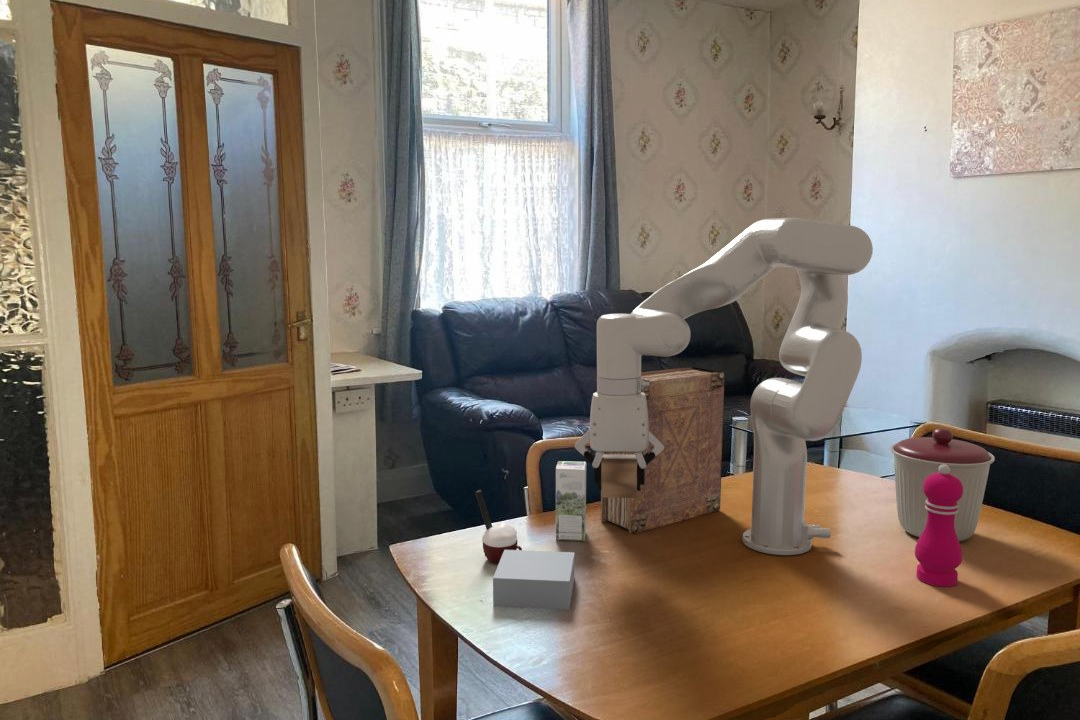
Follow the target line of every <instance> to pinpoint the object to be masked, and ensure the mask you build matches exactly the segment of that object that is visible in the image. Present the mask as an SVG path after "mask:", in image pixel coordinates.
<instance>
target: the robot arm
mask: <svg viewBox="0 0 1080 720" xmlns="http://www.w3.org/2000/svg"><path fill="white" fill-rule="evenodd" d="M873 250H874V248H873V243H872V240H871V238H870V236H869V235H868V233H867V232H866V231H865V230H863V229H862V228H860V227H859V226H858V227H857V226H855V225H849V224H848V225H847V224H843V223H841V224H840V223H836V222H835V223H834V222H827V221H820V220H813V219H807V218H802V217H801V218H800V217H775V218H774V217H773V218H763V219H760V220H758V221H755V222H754V223H752V224H751V225H749V227H747V228H746V229H744V230H743V231H742V232H741V233H740V234H738V235H737V236H736V237H735V238H734V239H732V240H731V241H730V242H729V243H728V244H727V245H725V246H724V247H722V248H721V249H720V250H718V252H717V253H715V254H714V255H713V256H712V257H711V258H710V259H708V260H707V261H706V262H704V263H703V264H701V265H700V266H698V267H696V268H694V269H692V270H690V271H688V272H687V273H685V274H684V275H682V276H681V277H677V278H676V279H675V280H673V281H670V282H668V283H667V284H665V285H664V286H662V287H660V288H659V289H658V290H656V291H655V292H654V293H652V294H651V295H650V296H649V297H647V298H646V299H645V300H643V301H642V302H641V303H640V304H639V305H638V306H636V307H635V309H632V312H630V313H607V314H602V315H601V316H600V317H598V319H597V321H596V392H593V393H592V396H591V405H590V414H589V415H590V416H589V429H588V430H587V431H585V433H584V434H583V435H582V436H581V437H580V438H579V439H578V440H577V441H575V443H574V449H576V450H577V452H579V453H580V454H581V455H582V456H583V457H584V458H585V460H586V461H588V463H590V465H591V466H592V468H593V474H594V475H593V478H594V479H593V480H594V481H593V483H594V485H597V487H598V488H597V490H598V491H601V490H602V488H601V462H602V457H603V455H604V452H608V453H634V454H635V457H636V459H637V461H638V462H637V490H638V491H641V485H645V467H646V466H647V465H648V464H649V463H650V462H651V461H652V460H653V459H654V458H655V456H657V455H658V454H659V453H660V452H661V451H662V450H663V449H664V444H663V443H662V442H661V441H660V440H659V439H658V438H657V437H656V436H655V435H654V434H653V433H652V432H651V431H650V430H649V421H648V408H647V400H646V395H645V393H643V392H641V390H643V388H650V380H645V379H643V378H641V373H642V356H652V357H653V356H654V357H665V358H667V357H672V356H676V355H678V354H680V353H682V352H683V351H684V350H685V349H686V348H687V347H688V345H689V343H690V341H691V329H690V325H689V324H688V323H687V321H686V320H685V319H687V318H689V317H691V316H693V315H696V314H699V313H701V312H704V311H707V310H708V311H709V310H713V309H718V308H721V307H724V306H726V305H729V304H732V303H734V302H736V301H737V300H739V299H740V298H741V297H742V296H743V295H744V294H745V293H746V292H747V291H748V290H749V289H751V288H753V287H754V286H755V285H756V284H757V283H758V282H759V281H760V280H762V279H763V278H764V277H766V276H767V275H768V274H769V273H771V271H773V270H775V269H776V268H794V269H795V270H796V272H797V276H798V279H799V282H800V294H799V295H800V296H799V300H798V302H797V306H796V308H795V310H794V314H793V315H792V318H791V320H790V322H789V324H788V327H787V331H786V332H785V335H784V337H783V339H782V342H781V345H780V347H779V352H778V358H779V363H780V364H781V366H782V367H783V368H784V369H785V370H787V371H788V372H790V373H792V374H795V375H799V376H803V377H804V380H803V382H802V381H801V382H800V381H798V380H794V379H789V378H783V377H771V378H767V379H766V380H763V381H761V382H760V383H759V384H758V385H757V386H756V387H755V388H754V390H753V393H752V395H751V398H750V408H749V409H750V416H751V417H750V418H751V423H752V428H753V429H752V431H753V470H752V471H753V472H752V495H751V496H752V498H751V521H750V522H751V528H748V529H747V530H745V531H744V532H743V533H742V543H743V544H744V545H745V546H746V547H748V548H749V549H752V550H753V551H757V552H760V553H765V554H768V555H774V556H796V555H802V554H805V553H807V552H809V551H810V550H812V542H813V539H814V538H819V539H829V540H830V538H831V529H830V528H829V527H821V525H820V524H808V523H807V522H806V521H805V511H806V510H805V508H806V504H805V503H806V489H807V488H806V486H807V467H808V449H807V443H806V441H813V442H815V441H820V440H822V439H824V438H826V437H828V436H830V434H831V433H832V432H833V430H834V429H835V428H836V426H837V424H838V423H839V421H840V418H841V417H842V415H843V412H844V410H845V408H846V404H847V403H848V400H849V398H850V395H851V392H852V391H853V389H854V386H855V384H856V381H857V379H858V376H859V373H860V371H861V366H862V360H863V358H862V357H863V354H862V348H861V344H860V342H859V341H858V339H857V337H855V336H854V334H852V333H851V332H849V331H846V330H845V329H841V327H842V324H843V321H844V318H845V315H846V313H847V308H848V304H849V302H848V301H849V296H848V295H849V294H848V290H847V286H846V282H845V280H844V276H851V275H855V274H858V273H859V272H861V271H862V270H864V269H865V268H866V267H867V266H868V265H869V263H870V262H871V259H872V257H873ZM649 441H650V442H651V443H652V444H653V445H654V447H653V448H652V449H651V450H650V451H648V452H647V453H646V454H645V455H644V454H643V452H644V451H646V450H647V449H648V444H649ZM588 442H589V446H590V449H588V447H586V444H587V443H588ZM592 451H594V452H595V453H593V452H592Z"/></svg>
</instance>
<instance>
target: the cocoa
mask: <svg viewBox="0 0 1080 720" xmlns="http://www.w3.org/2000/svg"><path fill="white" fill-rule="evenodd" d="M475 497H476V499H477V503H478V506H479V509H480V512H481V516H482V519H483V522H484V526H485V529H486V530H485V531H484V532H483V534H482V537H481V541H482V549H483V553H484V557H486V559H487V560H488V562H490V563H492V564H495V563H496V565H498V564H499V562H500V559H501V557H502V555H503V552H504V550H523V549H522V547H521V546H520V545H518V536H517V533H518V532H517V530H516V528H515V527H514V526H513V525H511V524H509V523H507V522H501V521H500V522H497V523H496V524H495V525H494V526H493V524H492V521H491V518H490V514H489V511H488V508H487V504H486V501H485V498H484V495H483V492H482V490H481V489H479V490H478V489H477V490H476V491H475Z"/></svg>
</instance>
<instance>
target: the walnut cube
mask: <svg viewBox="0 0 1080 720" xmlns="http://www.w3.org/2000/svg"><path fill="white" fill-rule="evenodd" d="M601 488H602V498H637V459H636V457H635V455H624V454H604V455H603V457H602V460H601Z"/></svg>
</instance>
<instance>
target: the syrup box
mask: <svg viewBox="0 0 1080 720" xmlns="http://www.w3.org/2000/svg"><path fill="white" fill-rule="evenodd" d="M586 518H587V462H586V461H568V460H567V461H565V460H564V461H562V460H560V461H559V460H558V461H557V464H556V466H555V541H564V542H565V541H569V542H585V541H586V533H587V520H586Z"/></svg>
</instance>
